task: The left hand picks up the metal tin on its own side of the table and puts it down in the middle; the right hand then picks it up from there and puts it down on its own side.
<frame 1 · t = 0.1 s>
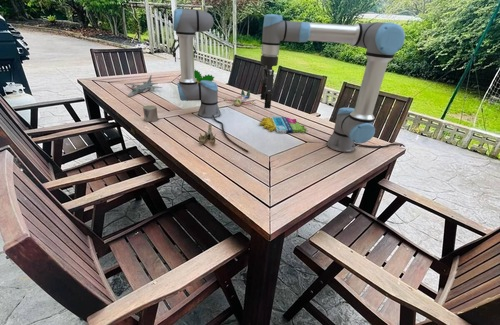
left hand: (184, 61, 211), 28 cm above the table, tool pointing down, fingers open, 13 cm apart
right hand: (265, 103, 123), 28 cm above the table, tool pointing down, fingers open, 13 cm apart
tin: (151, 119, 172), on the table
jawbone: (208, 142, 147), on the table
toy: (241, 101, 221), on the table
ornament: (203, 87, 255), on the table
sign: (281, 125, 177), on the table
airplane: (143, 91, 230), on the table
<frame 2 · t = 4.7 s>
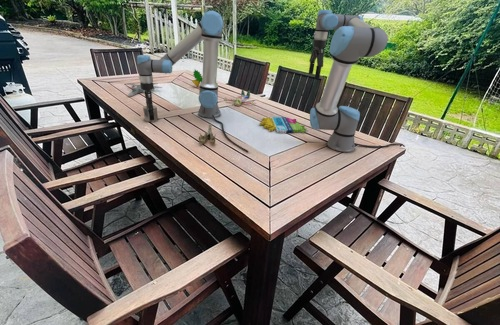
left hand: (151, 117, 171), 1 cm above the table, tool pointing down, fingers closed on tin, 8 cm apart
right hand: (313, 76, 167), 33 cm above the table, tool pointing down, fingers open, 13 cm apart
tin: (151, 119, 172), on the table, touching left hand
everything else where it was.
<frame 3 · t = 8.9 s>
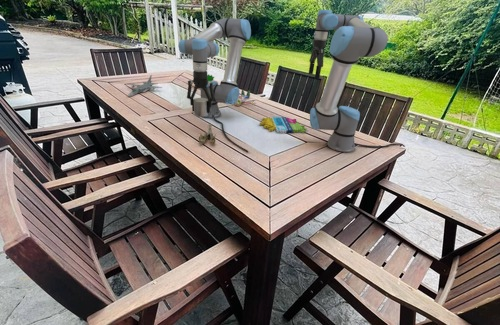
left hand: (201, 111, 150), 14 cm above the table, tool pointing down, fingers closed on tin, 8 cm apart
right hand: (313, 76, 167), 33 cm above the table, tool pointing down, fingers open, 13 cm apart
tin: (201, 114, 151), point 12 cm above the table, touching left hand
everything else where it was.
when the left hand's fingers open (3 cm above the table, at t = 13.3 s): tin drops 1 cm, on the table.
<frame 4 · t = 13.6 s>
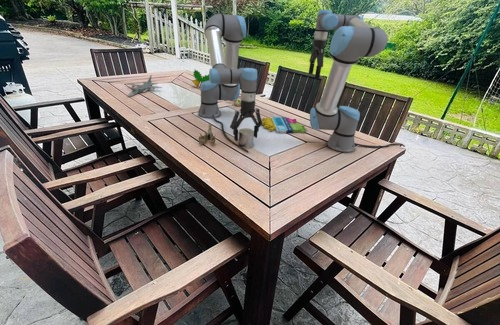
left hand: (245, 138, 145), 4 cm above the table, tool pointing down, fingers open, 11 cm apart
right hand: (313, 76, 167), 33 cm above the table, tool pointing down, fingers open, 13 cm apart
tin: (245, 145, 147), on the table
everything else where it was.
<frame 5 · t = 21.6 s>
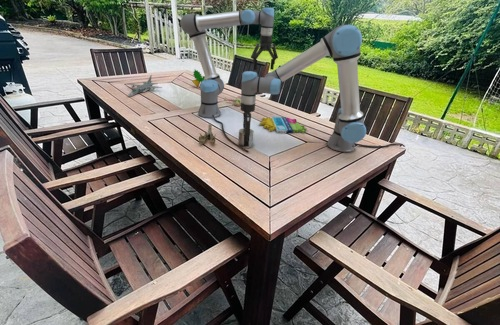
left hand: (263, 69, 179), 32 cm above the table, tool pointing down, fingers open, 13 cm apart
right hand: (245, 142, 146), 1 cm above the table, tool pointing down, fingers closed on tin, 8 cm apart
tin: (245, 145, 147), on the table, touching right hand
everything else where it was.
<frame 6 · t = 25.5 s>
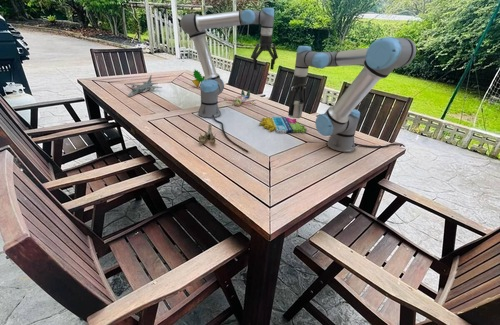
left hand: (263, 69, 179), 32 cm above the table, tool pointing down, fingers open, 13 cm apart
right hand: (295, 113, 160), 13 cm above the table, tool pointing down, fingers closed on tin, 8 cm apart
tin: (294, 116, 160), point 12 cm above the table, touching right hand
everything else where it was.
when the right hand's fingers open (3 cm above the table, at t = 29.7 s): tin drops 1 cm, on the table.
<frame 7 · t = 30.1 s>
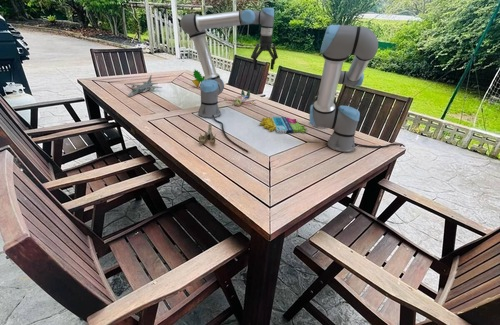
left hand: (263, 69, 179), 32 cm above the table, tool pointing down, fingers open, 13 cm apart
right hand: (320, 120, 179), 4 cm above the table, tool pointing down, fingers open, 13 cm apart
tin: (319, 126, 181), on the table
everything else where it was.
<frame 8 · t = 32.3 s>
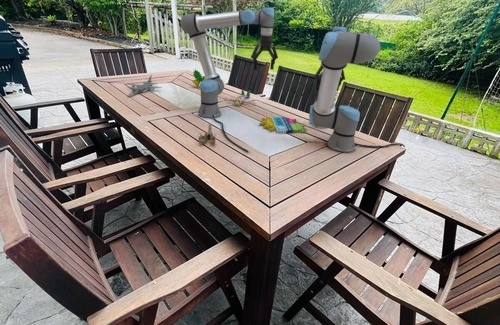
left hand: (263, 69, 179), 32 cm above the table, tool pointing down, fingers open, 13 cm apart
right hand: (326, 90, 169), 25 cm above the table, tool pointing down, fingers open, 13 cm apart
nothing on the table moved.
at the end: tin inside the target area (0.0 cm from its centre), on the table; tin tilted 0°; the two hands never held the tin at the same time; the left hand is holding nothing; the right hand is holding nothing; tin at rest at the end (0.0 cm/s) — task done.
